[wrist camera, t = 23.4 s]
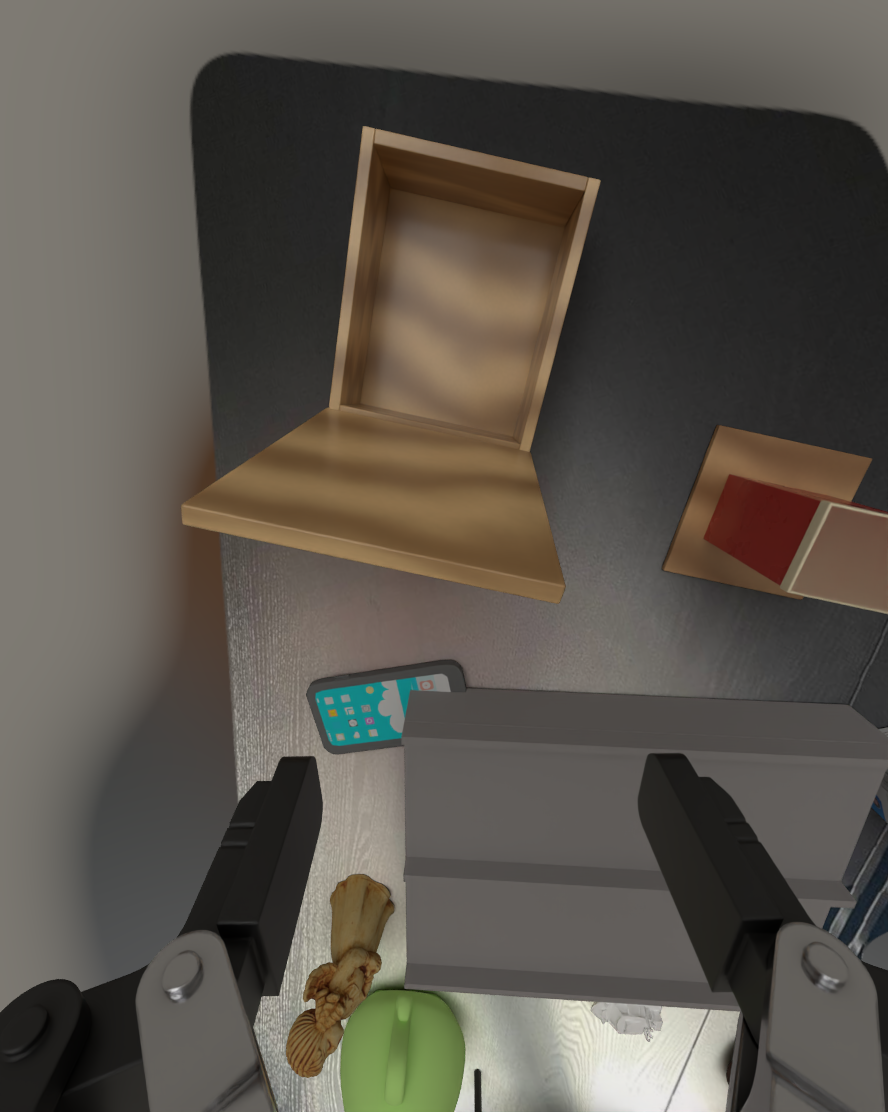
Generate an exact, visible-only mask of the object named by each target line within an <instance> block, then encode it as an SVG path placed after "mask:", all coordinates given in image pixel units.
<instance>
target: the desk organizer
mask: <svg viewBox="0 0 888 1112" xmlns="http://www.w3.org/2000/svg"><path fill="white" fill-rule="evenodd" d="M401 745H405V842H406V861H405V868H404V882H406V940H407V965H406V975H405V989H416V990H431V991H445V992H460V993H475V994H490V995H504V996H519V997H534V998H548V999H563V1000H578V1001H593V1002H607V1003H622V1004H637V1005H652V1006H666V1007H681V1008H696V1009H710V1010H725V1011H740V1012H741V1009H740V1007H739V1005H738V1003H737V1000H736V998H735V996H734V994H733V992H712V991H711V988H710V986H709V984H708V981H707V979H706V977H705V974H704V972H703V969H702V967H701V965H700V962H699V960H698V958H697V955H696V953H695V950H694V948H693V946H692V943H691V941H690V939H689V936H688V934H687V931H686V929H685V927H684V924H683V922H682V920H681V917H680V915H679V912H678V910H677V908H676V905H675V903H674V901H673V898H672V896H671V893H670V891H669V889H668V886H667V884H666V882H665V879H664V877H663V874H662V872H661V870H660V867H659V865H658V863H657V860H656V858H655V855H654V853H653V851H652V848H651V846H650V843H649V841H648V839H647V836H646V834H645V832H644V829H643V827H642V824H641V821H640V817H639V812H638V794H639V789H640V785H641V780H642V776H643V771H644V767H645V762H646V758H647V756H648V754H650V753H682V754H684V755H685V756H686V757H687V758H688V760H689V761H690V763H691V765H692V766H693V768H694V770H695V771H696V773H697V775H698V776H699V777H711V778H712V779H713V780H714V781H715V782H716V783H717V784H718V785H719V786H721V787H722V788H723V789H724V790H725V791H726V792H727V793H728V794H729V795H731V797H732V798H733V800H734V801H735V803H736V804H737V806H738V807H739V809H740V811H741V812H742V814H743V815H744V817H745V818H746V822H747V823H749V825H750V826H751V828H752V829H753V831H754V832H755V834H756V835H757V837H758V841H759V842H761V843H762V845H763V846H764V848H765V849H766V851H767V852H768V854H769V855H770V857H771V859H772V860H773V862H774V863H775V865H776V866H777V868H778V869H779V871H780V872H781V874H782V876H783V877H784V879H785V880H786V882H787V883H788V885H789V886H790V888H791V889H792V891H793V893H794V894H795V896H796V897H797V899H798V900H799V902H800V903H801V905H802V906H803V908H804V910H805V911H806V913H807V914H808V916H809V917H810V918H811V920H812V921H813V922H814V924H815V925H816V926H817V927H819V928H821V929H822V927H823V924H824V922H825V919H826V917H827V914H828V912H829V909H830V907H842V908H854V907H855V904H856V900H855V899H854V898H853V896H852V895H851V894H850V893H849V891H848V890H847V889H846V887H845V886H844V885H843V883H842V882H841V880H842V877H843V875H844V872H845V870H846V868H847V865H848V863H849V860H850V858H851V855H852V853H853V850H854V848H855V845H856V843H857V840H858V838H859V836H860V833H861V831H862V828H863V826H864V823H865V821H866V818H867V816H868V813H869V811H870V809H871V806H872V804H873V801H874V799H875V796H876V794H877V791H878V789H879V786H880V784H881V781H882V779H883V777H884V774H885V772H886V769H887V768H888V737H887V736H886V735H885V734H884V733H882V732H881V731H880V730H879V729H877V728H876V727H875V726H874V725H873V724H871V723H870V722H869V721H868V720H866V719H865V718H864V717H863V716H861V715H860V714H859V713H858V712H857V711H855V710H854V709H853V708H852V707H850V706H849V705H843V704H820V703H797V702H774V701H751V700H728V699H705V698H682V697H659V696H636V695H614V694H591V693H568V692H545V691H522V690H499V689H476V688H466V692H440V691H420V690H410V694H409V699H408V705H407V710H406V715H405V720H404V726H403V731H402V736H401Z"/></svg>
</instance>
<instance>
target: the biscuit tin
mask: <svg viewBox="0 0 888 1112" xmlns="http://www.w3.org/2000/svg"><path fill="white" fill-rule="evenodd" d="M703 539H704V540H706V541H708V542H709V543H711V544H713V545H714V546H716V547H718V548H719V549H721V550H722V551H724V552H726V553H727V554H729V555H731V556H732V557H734V558H736V559H737V560H739V561H740V562H742V563H744V564H745V565H747V566H749V567H750V568H752V569H754V570H755V571H757V572H758V573H760V574H762V575H763V576H765V577H767V578H768V579H770V580H772V581H773V582H775V583H776V584H778V585H780V588H781V589H782V590H784V591H786V592H787V593H792V594H796V595H801V596H806V597H810V598H815V599H820V600H824V601H829V602H834V603H838V604H843V605H848V606H852V607H857V608H862V609H866V610H871V611H876V612H880V613H885V614H888V512H886V511H883V510H879V509H875V508H872V507H868V506H864V505H861V504H857V503H854V502H850V501H846V500H843V499H839V498H836V497H832V496H828V495H824V494H819V493H815V492H810V491H806V490H801V489H796V488H792V487H787V486H783V485H778V484H774V483H769V482H764V481H760V480H755V479H751V478H746V477H742V476H737V475H732V474H729V476H728V479H727V481H726V484H725V486H724V489H723V491H722V493H721V496H720V498H719V501H718V503H717V506H716V508H715V511H714V513H713V516H712V518H711V521H710V523H709V525H708V528H707V530H706V533H705V535H704V538H703Z"/></svg>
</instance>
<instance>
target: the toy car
mask: <svg viewBox="0 0 888 1112" xmlns="http://www.w3.org/2000/svg"><path fill="white" fill-rule="evenodd" d="M661 1009H662V1006H652V1005H637V1004H622V1003H607V1002H594V1004H593V1005H592V1007H591V1012H592V1013H593V1014H594V1015H595V1016H596V1017H598V1018H599V1019H600V1020H601V1021H602V1024H604V1023H605V1022H609V1023H610V1024H611V1025H612V1026H613V1027H614V1028H615V1030H616V1031H617V1032H618V1033H619V1034H642V1033H643V1031H644V1035H645V1037H646V1040H647V1041H648V1042H650V1039H648V1034H649V1037H650V1038H652V1039H653V1036H652V1035H651V1034H650V1031H652V1032H653V1030H652V1029H651V1028H653V1029H654V1030H656V1031H661V1027H662V1023H663V1021H662V1018H661V1015H660V1013H661ZM645 1027H646V1029H647V1031H646V1029H645ZM647 1032H648V1034H647Z"/></svg>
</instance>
